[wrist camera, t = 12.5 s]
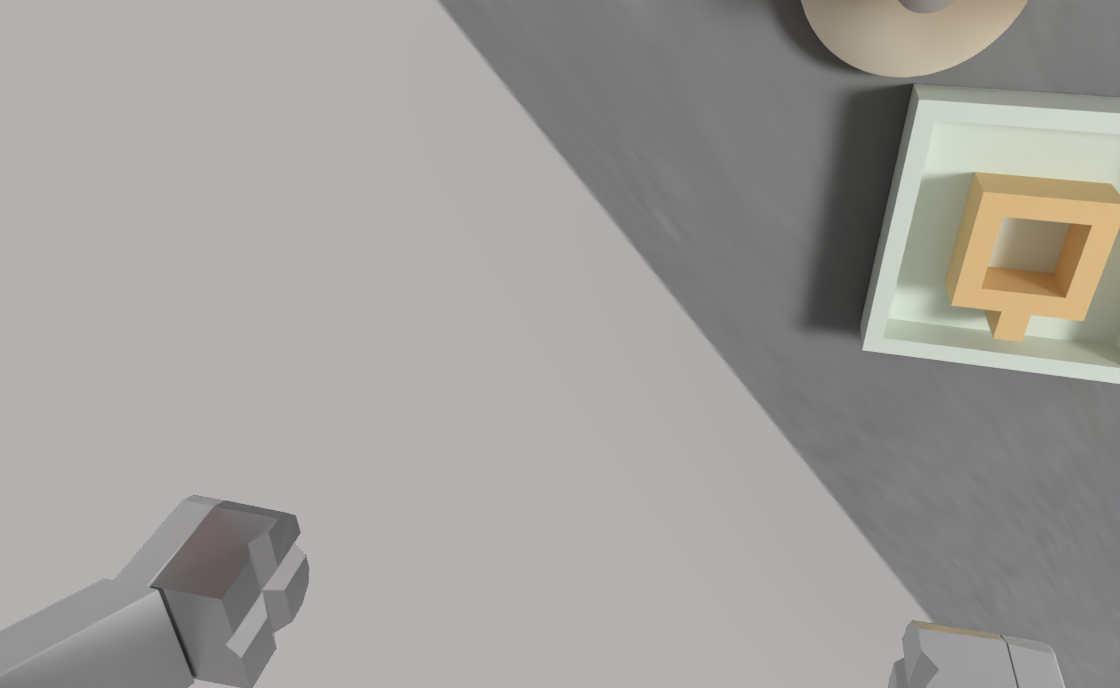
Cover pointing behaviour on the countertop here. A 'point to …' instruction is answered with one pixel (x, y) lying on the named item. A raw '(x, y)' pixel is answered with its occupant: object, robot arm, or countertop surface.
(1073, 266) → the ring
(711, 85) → the countertop surface
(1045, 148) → the tray
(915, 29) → the stand
